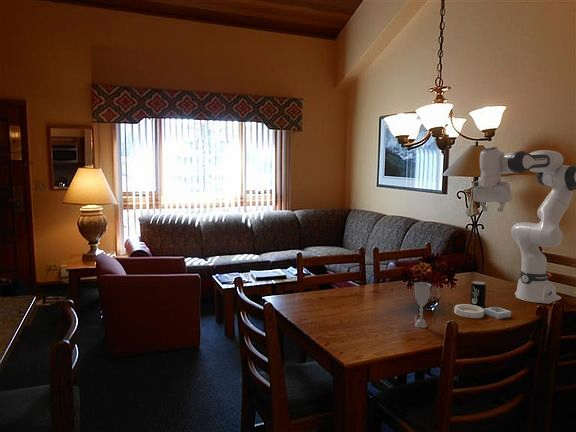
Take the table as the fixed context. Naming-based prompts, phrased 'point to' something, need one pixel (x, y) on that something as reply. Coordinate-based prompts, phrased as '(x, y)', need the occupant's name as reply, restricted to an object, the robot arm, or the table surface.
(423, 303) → the chalice
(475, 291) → the beverage can
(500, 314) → the square holder
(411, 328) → the table surface
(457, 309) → the round collar
